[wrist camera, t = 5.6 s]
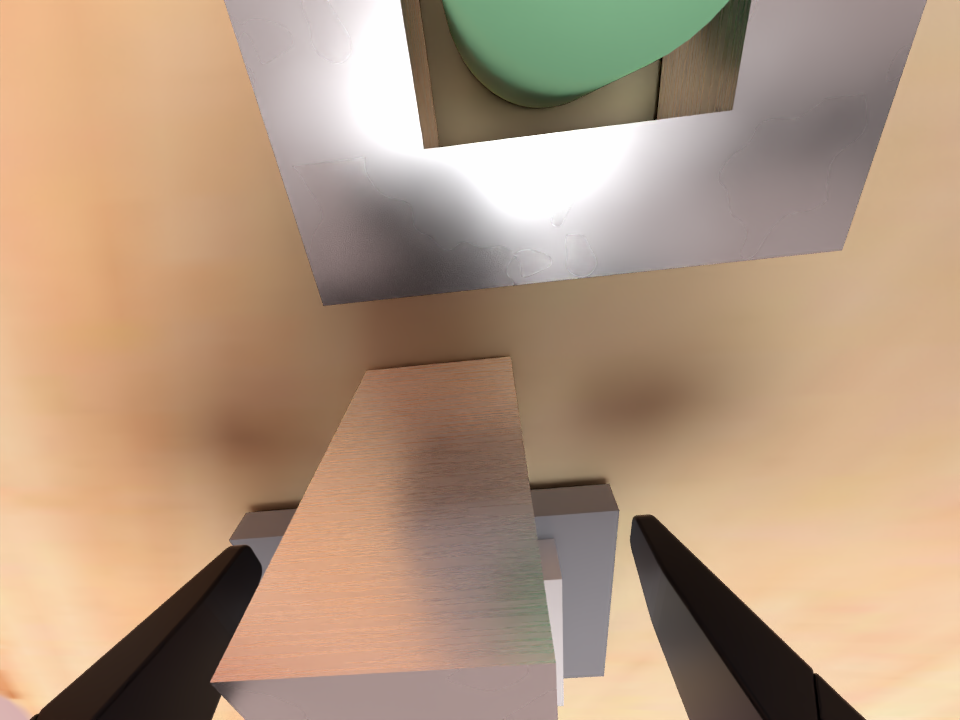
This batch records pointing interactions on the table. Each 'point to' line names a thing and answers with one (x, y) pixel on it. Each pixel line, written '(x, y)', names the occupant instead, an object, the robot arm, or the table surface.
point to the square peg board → (571, 149)
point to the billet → (406, 566)
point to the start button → (567, 42)
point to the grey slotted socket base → (564, 559)
